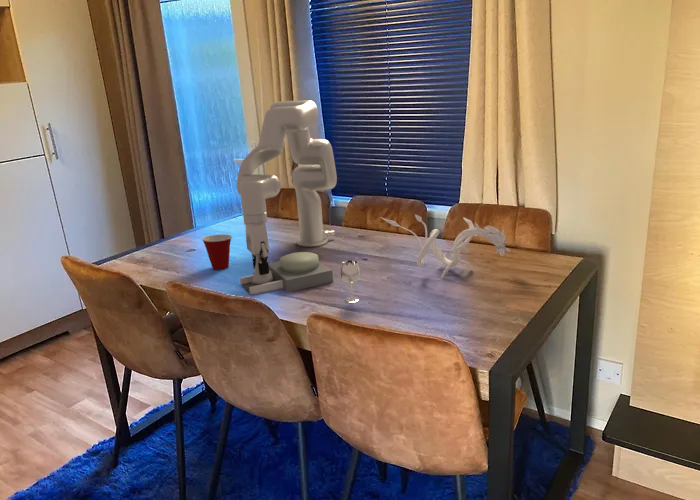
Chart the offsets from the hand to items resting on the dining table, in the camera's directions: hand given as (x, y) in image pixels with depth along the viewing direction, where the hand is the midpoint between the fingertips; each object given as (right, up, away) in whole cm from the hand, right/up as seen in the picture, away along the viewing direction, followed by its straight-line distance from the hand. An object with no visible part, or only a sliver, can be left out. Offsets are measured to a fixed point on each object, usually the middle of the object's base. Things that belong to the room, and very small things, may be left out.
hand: (261, 271), depth 190 cm
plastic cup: (-18, 0, +23) cm, 29 cm away
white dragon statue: (+60, -1, +1) cm, 60 cm away
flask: (0, -3, +1) cm, 4 cm away
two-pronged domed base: (+7, -4, +5) cm, 9 cm away
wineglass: (+30, -8, -15) cm, 34 cm away
